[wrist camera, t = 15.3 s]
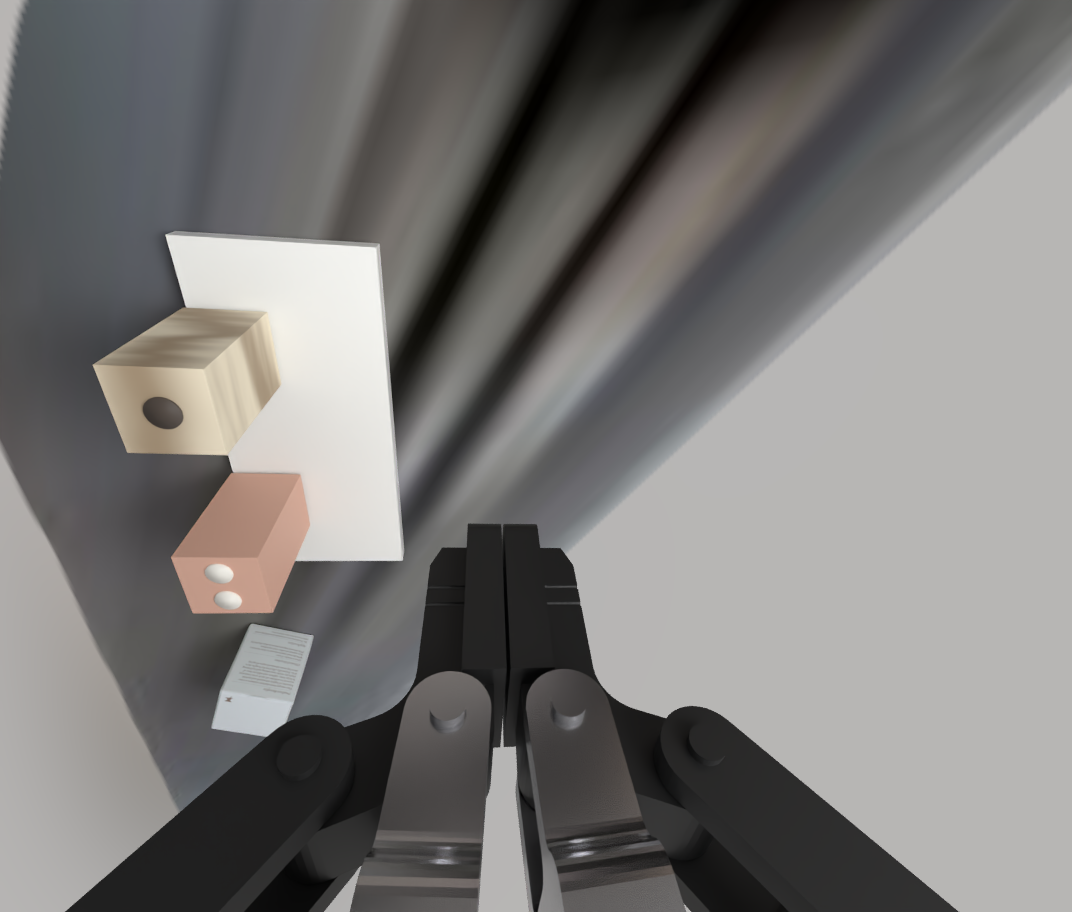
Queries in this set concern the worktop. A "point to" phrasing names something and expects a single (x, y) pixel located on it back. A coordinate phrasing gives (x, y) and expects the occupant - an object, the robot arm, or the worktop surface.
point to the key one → (191, 381)
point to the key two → (244, 544)
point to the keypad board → (313, 379)
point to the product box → (262, 681)
